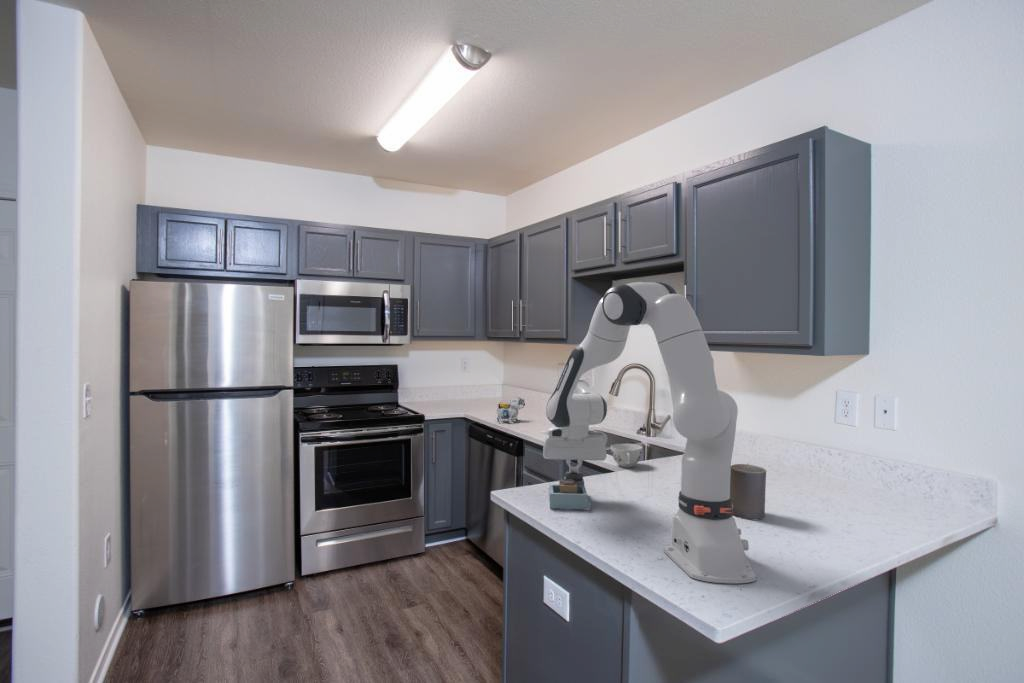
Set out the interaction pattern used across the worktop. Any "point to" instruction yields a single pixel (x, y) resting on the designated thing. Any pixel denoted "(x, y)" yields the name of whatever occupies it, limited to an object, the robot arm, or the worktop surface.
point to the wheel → (574, 476)
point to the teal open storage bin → (569, 497)
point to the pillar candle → (748, 491)
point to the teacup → (626, 454)
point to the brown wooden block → (567, 486)
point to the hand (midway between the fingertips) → (574, 473)
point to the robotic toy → (510, 410)
